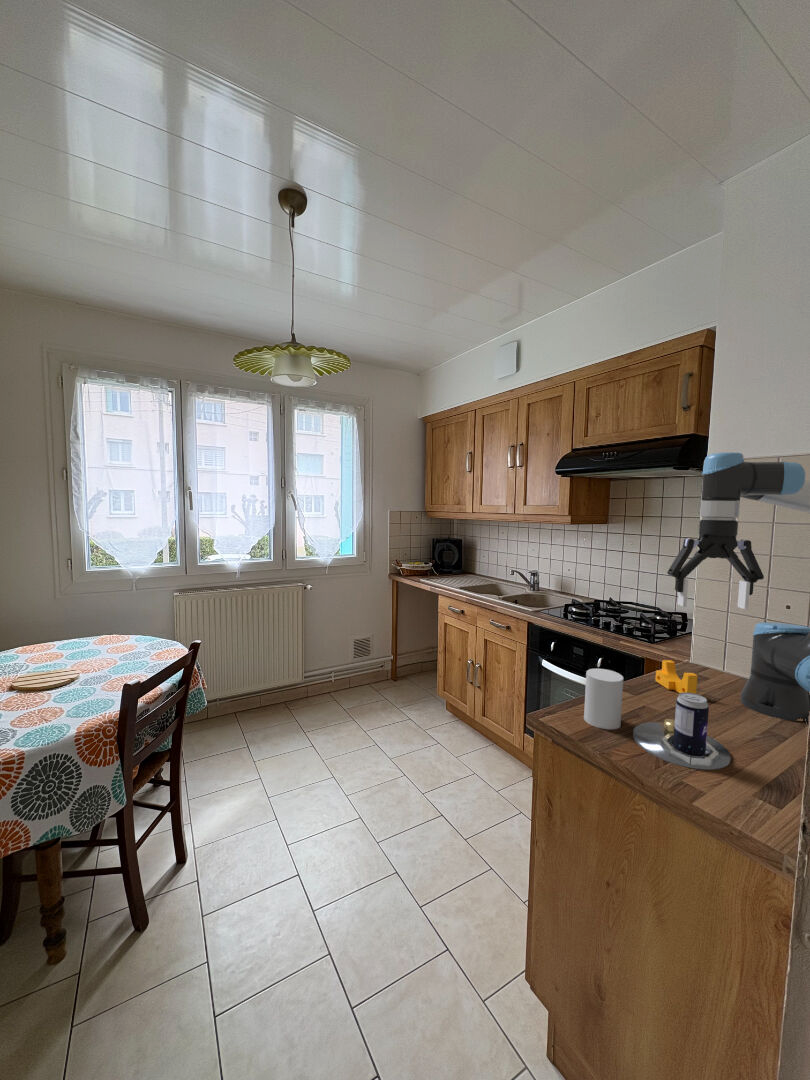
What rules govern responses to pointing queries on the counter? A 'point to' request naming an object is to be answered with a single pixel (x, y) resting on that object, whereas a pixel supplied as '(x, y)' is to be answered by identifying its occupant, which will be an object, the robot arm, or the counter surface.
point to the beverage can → (691, 724)
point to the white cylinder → (603, 698)
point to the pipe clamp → (676, 678)
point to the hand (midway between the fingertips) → (712, 607)
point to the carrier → (660, 744)
